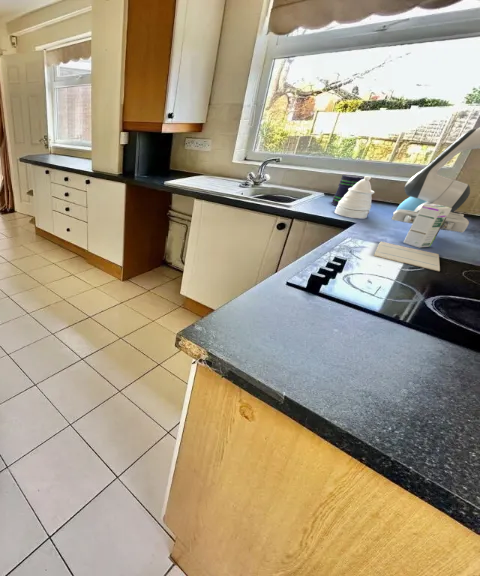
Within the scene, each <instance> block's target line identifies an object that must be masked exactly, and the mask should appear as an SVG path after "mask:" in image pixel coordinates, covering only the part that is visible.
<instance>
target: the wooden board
mask: <svg viewBox="0 0 480 576" xmlns="http://www.w3.org/2000/svg"><path fill="white" fill-rule="evenodd" d="M373 256H374V257H376V258H382V259H384V260H385V259H386V260H390V261H393V262H398V263H401V264H402V263H403V264H407V265H410V266H414V267H419V268H421V269H422V268H423V269H427V270H431V271H436V272H440V271H441V266H440V254H439V253H436V252H431V251H426V250H421V249H416V248H412V247H406V246H403V245H399V244H394V243H389V242H385V241H379V243H378V246H377V248H376V250H375V252H374V254H373Z"/></svg>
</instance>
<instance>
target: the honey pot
mask: <svg viewBox="0 0 480 576" xmlns="http://www.w3.org/2000/svg"><path fill="white" fill-rule="evenodd" d="M363 177H364V179H362V180H360V181H359V182H357V183H356V184H355V185H354V186H353V187H352V188H349V189H348V190H349V191H348V192H347V193H346V194H345V195H344V197H343V198H342V199H341V200H340V201H339V203H338V205H336V208H335V210H334V214H336V215H338V216H341V217H345V218H346V217H347V218H352V219H361V220H362V219H367V218H368V215H369V214H370V211H371V209H372V200H373V198H372V195H373V194H375V193H376V191H375V190H372V185H371V182H370V180H371V179H372V176H369V175H365V176H363Z"/></svg>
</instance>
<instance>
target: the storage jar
mask: <svg viewBox="0 0 480 576" xmlns="http://www.w3.org/2000/svg"><path fill="white" fill-rule="evenodd" d="M364 177H365V176H361V175H355V174H342V176H341V178H340V180H339V183H338V185H337V190H336V191H335V193H334V195H333V197H332V201H331V205H334V206H337V205H338V203H339V201H340V200H341V199H342V198H343V197H344V195H345V194H346V193H347V192H348V191H349V190H348V189H349V188H352V187H353V186H354V185H355V184H356V183H357V182H359V181H360V180H362V179H364Z"/></svg>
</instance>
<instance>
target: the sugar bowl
mask: <svg viewBox="0 0 480 576" xmlns="http://www.w3.org/2000/svg"><path fill="white" fill-rule="evenodd" d="M425 202H427V201H424V200H422V199H419V198H414V197H410V196H408V197H407V198H406V199H404V200H403V201H402V202H401V203H399V205H398V206H397V208H396V210H399V209H403V210H410V211H414V210H415V209H416V208H417V207H418V206H419V205H421V204H423V203H425Z"/></svg>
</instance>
